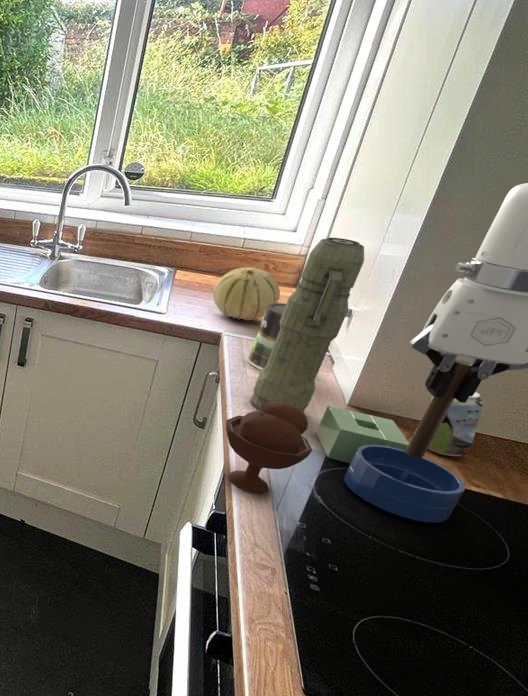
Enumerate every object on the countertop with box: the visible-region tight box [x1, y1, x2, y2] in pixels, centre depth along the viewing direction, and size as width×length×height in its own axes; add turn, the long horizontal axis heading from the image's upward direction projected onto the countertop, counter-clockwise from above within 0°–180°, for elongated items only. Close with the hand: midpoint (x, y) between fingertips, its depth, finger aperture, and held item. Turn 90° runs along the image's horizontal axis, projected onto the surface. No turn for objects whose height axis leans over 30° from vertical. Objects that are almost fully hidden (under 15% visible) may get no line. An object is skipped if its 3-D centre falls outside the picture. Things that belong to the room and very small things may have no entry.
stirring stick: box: [405, 359, 473, 459], centre depth 86 cm, size 2×2×16 cm
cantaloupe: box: [212, 267, 281, 321], centre depth 161 cm, size 15×15×15 cm
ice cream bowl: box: [225, 401, 313, 496], centre depth 92 cm, size 11×11×15 cm
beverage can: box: [427, 391, 484, 457], centre depth 104 cm, size 6×7×12 cm
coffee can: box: [247, 302, 287, 371], centre depth 133 cm, size 10×10×14 cm
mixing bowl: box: [343, 445, 466, 524], centre depth 91 cm, size 12×12×6 cm
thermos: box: [249, 237, 365, 414], centre depth 111 cm, size 9×12×35 cm
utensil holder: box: [315, 405, 410, 464], centre depth 103 cm, size 9×9×6 cm
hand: (445, 395), depth 85 cm, fingers closed on stirring stick, 2 cm apart
